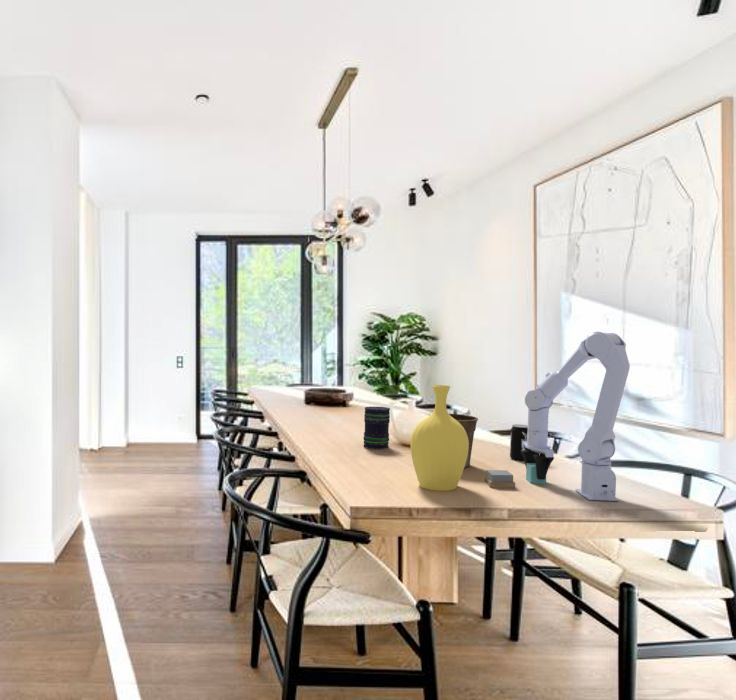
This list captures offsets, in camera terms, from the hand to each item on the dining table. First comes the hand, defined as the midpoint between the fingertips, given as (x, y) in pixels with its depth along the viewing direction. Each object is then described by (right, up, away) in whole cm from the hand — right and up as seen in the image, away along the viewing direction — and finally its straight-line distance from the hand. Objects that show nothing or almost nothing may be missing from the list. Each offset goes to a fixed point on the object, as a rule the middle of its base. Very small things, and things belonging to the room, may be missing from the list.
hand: (536, 476), depth 156 cm
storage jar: (-47, 0, +46) cm, 66 cm away
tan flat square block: (-12, -2, -5) cm, 13 cm away
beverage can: (+4, -2, +32) cm, 32 cm away
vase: (-30, -1, -9) cm, 31 cm away
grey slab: (-12, 0, -5) cm, 13 cm away
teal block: (0, -1, 0) cm, 1 cm away
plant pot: (-22, -1, +19) cm, 29 cm away
